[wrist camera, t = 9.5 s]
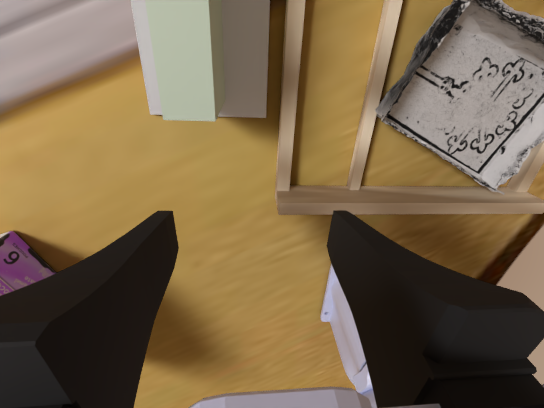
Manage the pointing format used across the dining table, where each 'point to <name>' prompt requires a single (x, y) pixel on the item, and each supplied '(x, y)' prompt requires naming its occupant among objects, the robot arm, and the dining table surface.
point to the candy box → (19, 264)
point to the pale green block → (188, 57)
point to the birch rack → (353, 194)
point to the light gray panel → (237, 57)
